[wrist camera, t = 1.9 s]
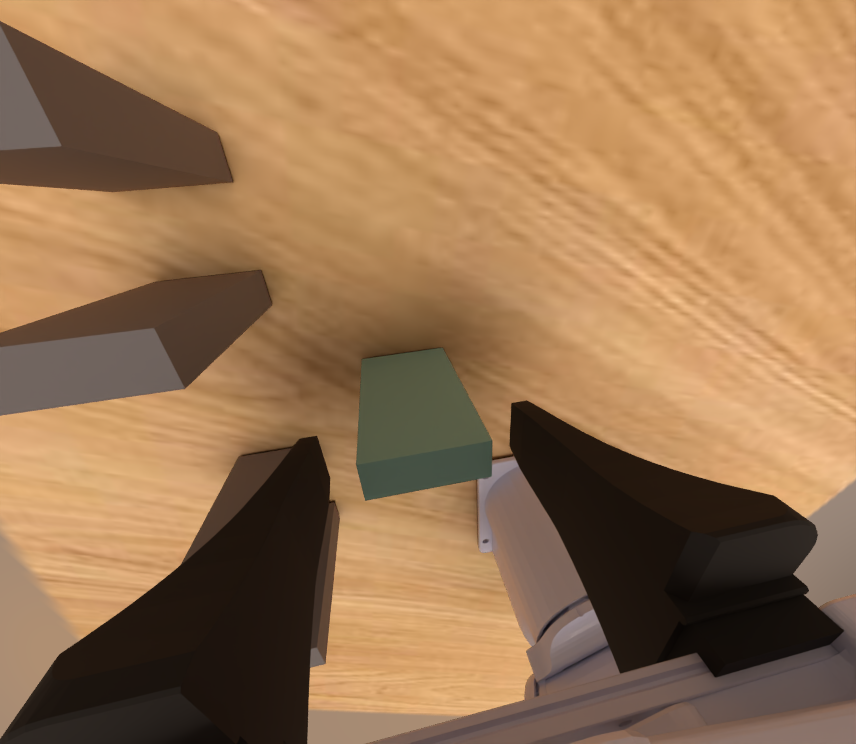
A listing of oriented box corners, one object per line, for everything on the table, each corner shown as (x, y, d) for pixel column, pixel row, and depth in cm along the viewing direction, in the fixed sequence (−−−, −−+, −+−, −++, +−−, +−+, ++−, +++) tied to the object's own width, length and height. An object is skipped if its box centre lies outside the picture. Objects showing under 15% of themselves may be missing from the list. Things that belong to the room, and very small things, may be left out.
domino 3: (322, 463, 20) (295, 605, 13) (247, 477, 19) (177, 631, 12) (315, 443, 19) (283, 582, 12) (238, 456, 18) (157, 609, 11)
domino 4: (339, 518, 22) (325, 663, 15) (273, 531, 21) (226, 687, 14) (334, 502, 21) (317, 647, 14) (266, 515, 21) (212, 671, 14)
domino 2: (271, 305, 15) (184, 389, 8) (172, 317, 14) (-15, 418, 7) (260, 270, 14) (153, 328, 7) (155, 281, 14) (-70, 355, 7)
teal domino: (444, 373, 18) (491, 476, 11) (367, 385, 18) (365, 500, 11) (442, 347, 17) (492, 440, 10) (361, 359, 17) (356, 464, 10)
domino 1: (233, 182, 13) (61, 146, 6) (112, 191, 12) (-239, 166, 5) (217, 132, 12) (-3, 20, 5) (88, 141, 11) (-361, 30, 4)
